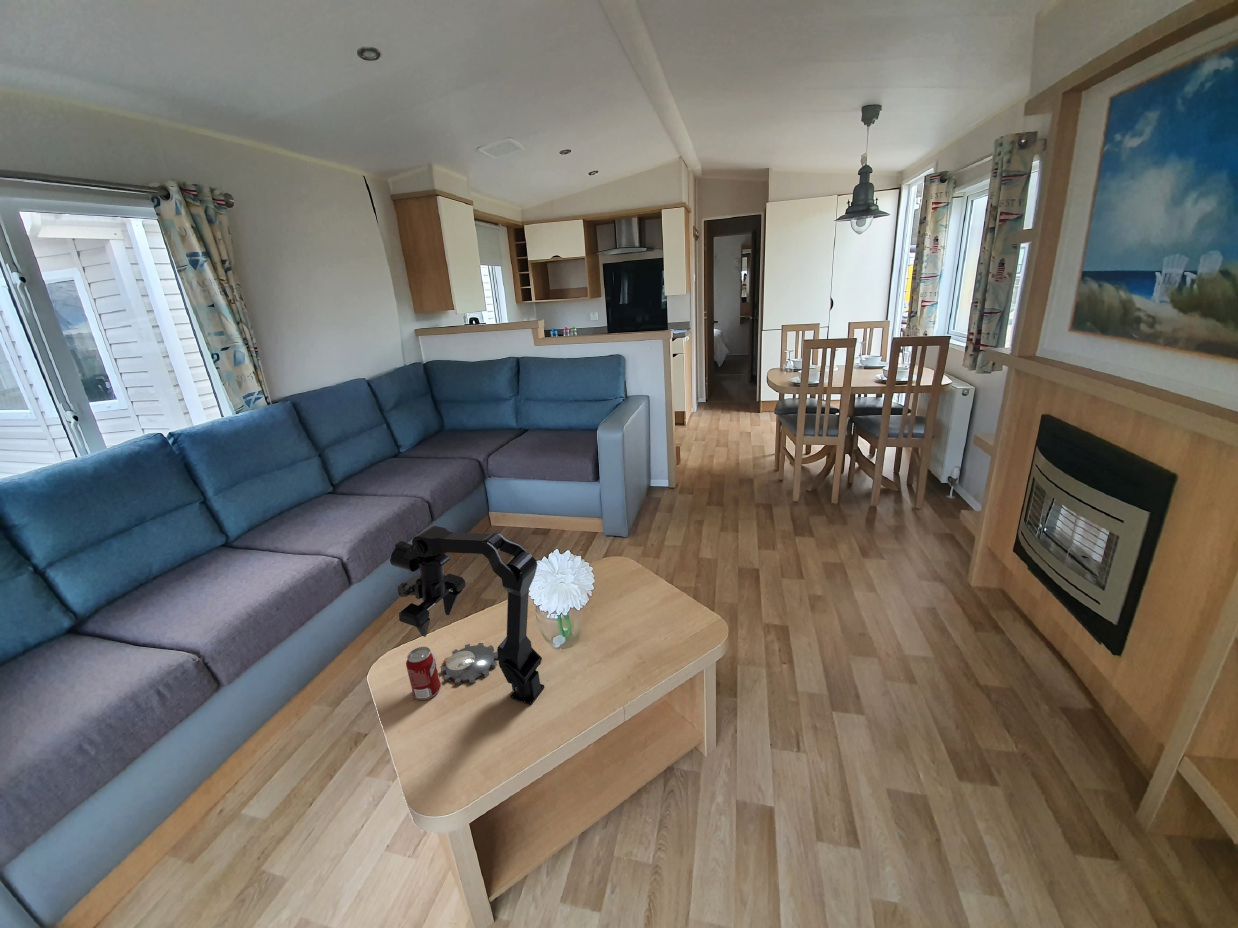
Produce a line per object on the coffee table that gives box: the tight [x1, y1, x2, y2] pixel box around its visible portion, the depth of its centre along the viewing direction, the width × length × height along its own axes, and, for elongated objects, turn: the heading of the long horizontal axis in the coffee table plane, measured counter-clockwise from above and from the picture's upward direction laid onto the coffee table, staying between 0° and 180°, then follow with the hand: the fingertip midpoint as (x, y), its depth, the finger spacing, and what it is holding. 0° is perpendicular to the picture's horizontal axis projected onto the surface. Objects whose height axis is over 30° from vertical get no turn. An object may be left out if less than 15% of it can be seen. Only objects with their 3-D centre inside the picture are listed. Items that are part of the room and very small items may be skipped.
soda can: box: [405, 646, 442, 701], centre depth 126 cm, size 7×7×12 cm
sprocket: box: [440, 642, 498, 686], centre depth 136 cm, size 15×15×1 cm
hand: (436, 624), depth 129 cm, fingers open, 9 cm apart
